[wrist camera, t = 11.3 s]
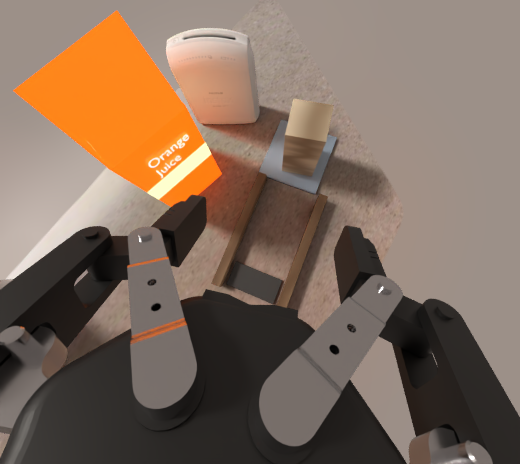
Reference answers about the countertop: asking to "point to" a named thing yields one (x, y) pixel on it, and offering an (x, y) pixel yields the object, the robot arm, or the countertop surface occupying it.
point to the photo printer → (216, 74)
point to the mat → (274, 171)
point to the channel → (240, 231)
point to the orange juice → (123, 113)
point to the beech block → (305, 136)
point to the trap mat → (254, 282)
